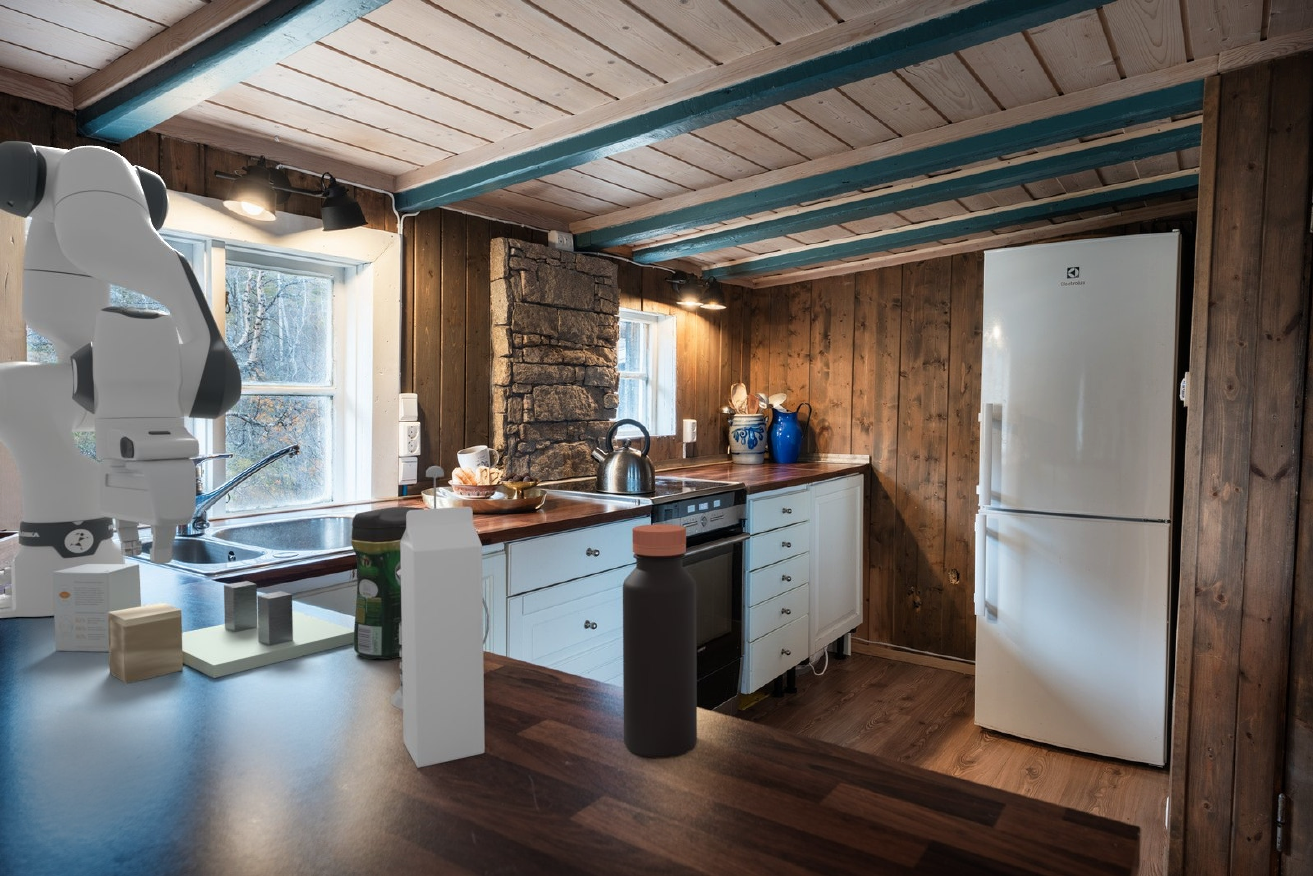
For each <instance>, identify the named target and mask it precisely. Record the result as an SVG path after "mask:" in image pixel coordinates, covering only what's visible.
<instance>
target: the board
mask: <svg viewBox="0 0 1313 876" xmlns="http://www.w3.org/2000/svg"><path fill="white" fill-rule="evenodd" d="M292 616H293V641H289V642H285V643H280V644H276V645H272V646H268V645H265V644H263V643H260V642H258V628H253V629H248V630H244V631H239V632H232V631H230V630H227V629H225V623H223V624H219V625H215V626H208V627H203V628H199V629H195V630H188V631H184V632H183V631H182V657H183V664H184V665H187V666H189V667H191V668H192V669H195V670H197V671H198V672H200V673H203V674H205V675H207V676H209V677H210V678H213V679H216V678H220V677H224V676H228V675H229V676H230V675H232V674H237V673H240V672H245V671H247V670H251V669H256V668H259V667H263V666H269V665H271V664H276V663H280V662H284V661H288V660H291V659H292V660H293V659H295V658H296V659H297V658H299V657H300V658H301V657H303V655H304V656H307V655H311V654H317V653H319V652H323V651H327V650H331V649H334V648H339V647H342V646H347V645H350V644H354V629H353V628H349V627H346V626H344V625H341V624H340V625H339V624H337V623H333V622H330V621H327V620H324V619H321V618H318V617H315V616H312V615H308V614H306V613H303V612H300V611H297V610H293V609H292ZM257 625H258V616H257Z"/></svg>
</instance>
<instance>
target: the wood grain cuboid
mask: <svg viewBox="0 0 1313 876" xmlns="http://www.w3.org/2000/svg"><path fill="white" fill-rule="evenodd" d="M182 615H183V614H182V609H180V608H178V607H175V606H173V605H170V604H168V603H166V602H158V603H154V604H152V603H151V604H146V605H141V606H140V607H134V608H129V609H123V610H117V611H111V612H108V630H109V652H108V655H109V656H108V658H109V659H108V662H109V663H108V665H109V667H108V668H109V674H111V675H112V676H114V677H115V678H117V679H119V680H121V681H122V682H124V683H125V684H131V683H135V682H138V681H142V680H147V679H152V678H154V677H160V676H164V675H167V674H171V673H176V672H180V671H183V669H184V666H183V664H184V663H183V657H182V633H183V629H182V628H183V626H182V625H183V624H182V623H183V622H182V621H183V620H182V619H183V617H182Z"/></svg>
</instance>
